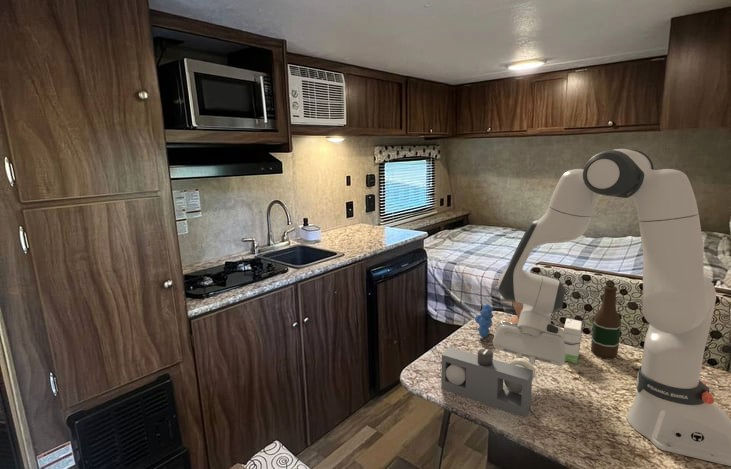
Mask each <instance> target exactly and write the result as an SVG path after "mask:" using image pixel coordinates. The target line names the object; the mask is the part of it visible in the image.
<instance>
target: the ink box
mask: <svg viewBox="0 0 731 469" xmlns="http://www.w3.org/2000/svg"><path fill="white" fill-rule="evenodd" d="M582 325H583V321H582V320H577V319H573V318H572V319H571V318H566V319H565V323H564V325H563V327H564V328H563V332H564V343H565V349H566V357H565V362H570V363H573V364H579V356H580V350H581V349H580V347H581V338H582V327H583V326H582Z"/></svg>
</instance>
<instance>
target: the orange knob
mask: <svg viewBox="0 0 731 469" xmlns="http://www.w3.org/2000/svg"><path fill="white" fill-rule="evenodd" d="M446 376H447V378H448V380H449V381H450V382H451V383H453V384H455V385H460V384H462V383H463V382H464V381H465V379H466V368H464V367H461V366H457V365H454V364H451V365H450V366H449V367H448V368H447V370H446Z"/></svg>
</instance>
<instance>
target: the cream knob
mask: <svg viewBox="0 0 731 469" xmlns="http://www.w3.org/2000/svg"><path fill="white" fill-rule="evenodd" d="M509 364H512V365H516V366H519V367H523V368H526V369H530V370H533V374H532V382H533V381H534V378H535V377H536V369H535V366H534V364H533V365H532V364H531V363H530V360H527V359H525V358H523V357H522V358H517V357H516V358H513V359H512V360H510V363H509ZM503 384H504V386H505V387H506V388H507V390H509V391H512V392H515V393H518V394H521V393H522V385H520V384H516V383H513V382H510V381H507V380H503Z"/></svg>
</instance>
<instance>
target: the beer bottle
mask: <svg viewBox="0 0 731 469" xmlns="http://www.w3.org/2000/svg"><path fill="white" fill-rule="evenodd" d="M603 289H604V293H603V298H602V303H601V307H600V309H599V310H598V311H596V312H595V315H594V318H593V321H592V322H593V324H592V332H591V333H592V334H591V342H590V351H591V352H592V353H593V355H594V356H596V357H599V358H601V359H610V360H611V359H612V360H613V359H614V358H616V357H618V352H619V344H620V337H621V329H622V328H621V326H622V320H621V316H620V315H619V313H618V311H617V306H616V304H617V291H618V288H617V286H615V285H611V284H610V285H609V284H608V285H604V287H603Z"/></svg>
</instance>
